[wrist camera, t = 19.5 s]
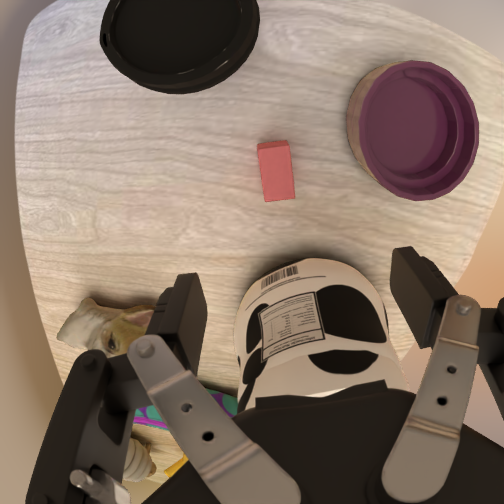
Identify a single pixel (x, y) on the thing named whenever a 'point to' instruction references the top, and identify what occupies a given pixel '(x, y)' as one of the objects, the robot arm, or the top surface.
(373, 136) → the bowl
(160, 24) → the coffee cup
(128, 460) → the toy sheep
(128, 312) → the ceramic sculpture
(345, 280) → the milk container
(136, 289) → the top surface
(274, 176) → the eraser
